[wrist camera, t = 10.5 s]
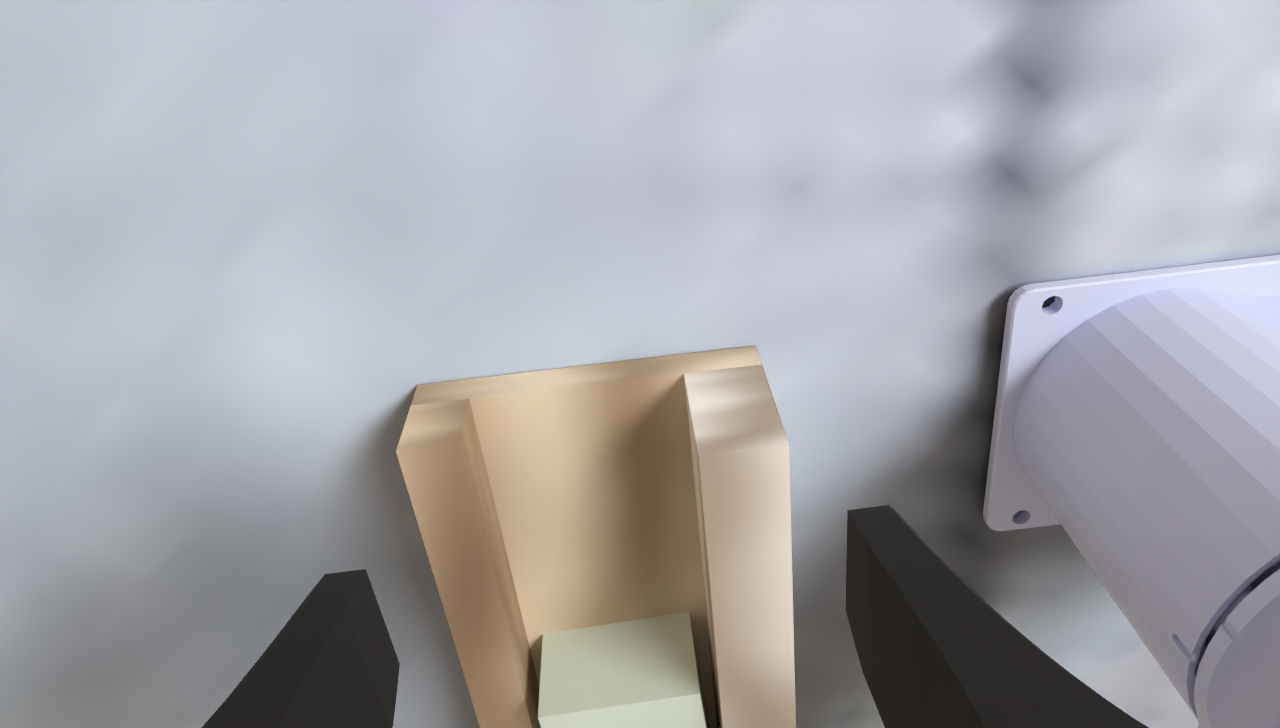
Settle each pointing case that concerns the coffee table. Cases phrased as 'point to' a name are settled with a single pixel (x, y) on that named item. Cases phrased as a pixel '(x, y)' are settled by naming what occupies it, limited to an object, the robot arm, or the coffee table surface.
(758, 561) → the board
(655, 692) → the slab with grey handle
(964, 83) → the coffee table surface
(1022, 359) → the robot arm
